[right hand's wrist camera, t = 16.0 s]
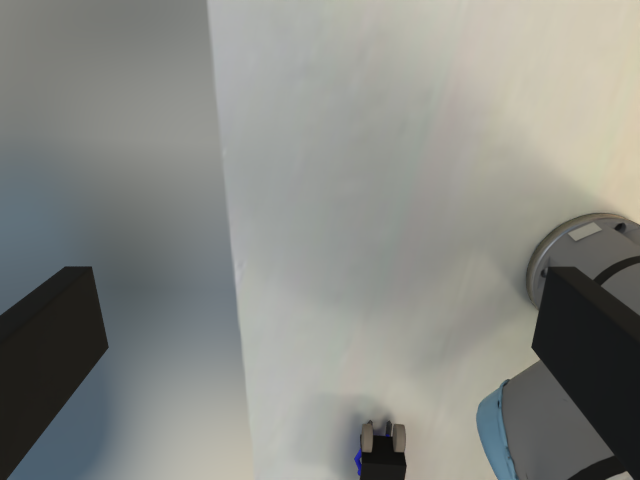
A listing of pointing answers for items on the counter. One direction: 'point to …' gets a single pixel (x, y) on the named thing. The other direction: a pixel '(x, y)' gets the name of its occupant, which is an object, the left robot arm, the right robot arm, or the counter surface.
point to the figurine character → (382, 453)
